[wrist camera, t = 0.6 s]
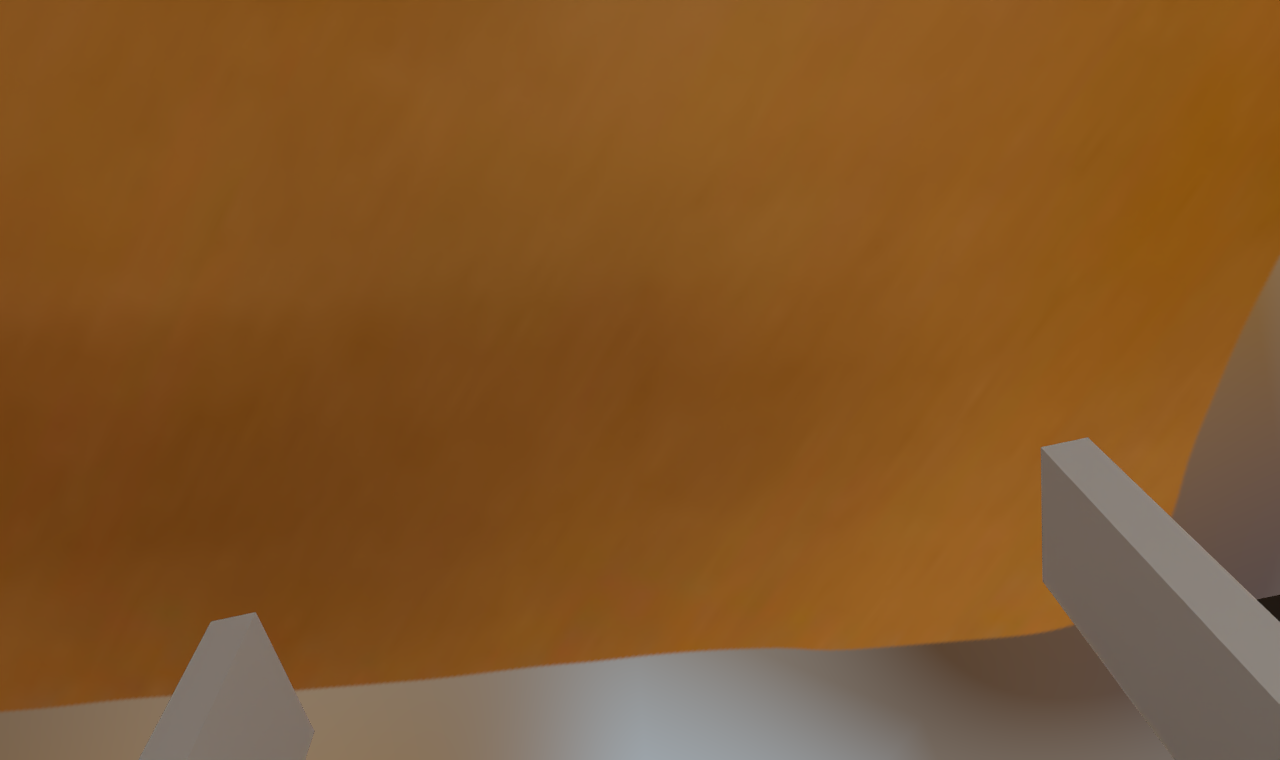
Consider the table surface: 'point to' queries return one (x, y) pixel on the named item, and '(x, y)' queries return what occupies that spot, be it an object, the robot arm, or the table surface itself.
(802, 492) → the table surface
